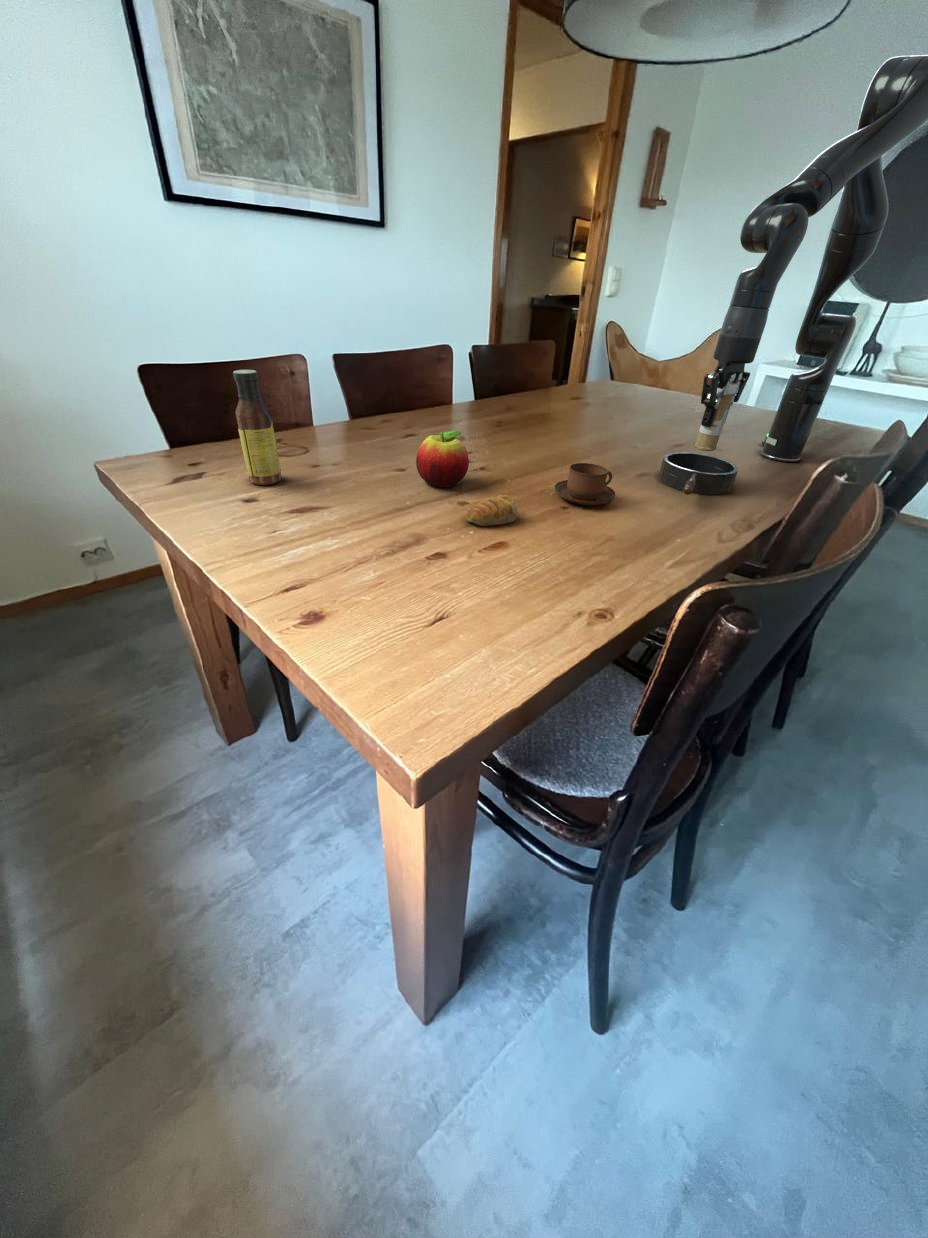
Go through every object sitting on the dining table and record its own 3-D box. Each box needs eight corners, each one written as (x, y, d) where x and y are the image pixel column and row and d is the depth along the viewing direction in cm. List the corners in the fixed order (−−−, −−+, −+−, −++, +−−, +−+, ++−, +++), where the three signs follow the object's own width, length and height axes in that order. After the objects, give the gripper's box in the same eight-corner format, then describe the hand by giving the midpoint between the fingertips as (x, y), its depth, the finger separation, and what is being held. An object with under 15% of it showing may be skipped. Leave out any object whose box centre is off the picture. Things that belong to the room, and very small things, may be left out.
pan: (653, 468, 125) (658, 449, 123) (720, 474, 124) (726, 455, 122) (665, 490, 112) (671, 470, 110) (740, 498, 111) (747, 477, 109)
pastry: (481, 532, 89) (483, 510, 87) (457, 518, 94) (458, 498, 91) (521, 520, 94) (523, 500, 92) (496, 508, 99) (497, 488, 97)
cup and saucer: (575, 484, 112) (581, 455, 109) (624, 501, 106) (632, 471, 102) (541, 496, 105) (545, 466, 102) (591, 515, 98) (597, 483, 95)
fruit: (404, 481, 108) (404, 431, 102) (441, 470, 115) (443, 423, 109) (441, 496, 102) (443, 444, 96) (478, 484, 109) (482, 435, 103)
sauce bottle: (288, 479, 105) (274, 371, 94) (266, 488, 100) (248, 375, 89) (263, 473, 107) (246, 366, 96) (240, 482, 102) (219, 370, 91)
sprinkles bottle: (691, 448, 114) (710, 381, 106) (698, 444, 117) (718, 379, 109) (712, 453, 111) (733, 385, 104) (719, 449, 114) (740, 382, 107)
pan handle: (688, 479, 111) (691, 471, 110) (697, 481, 111) (700, 473, 110) (681, 494, 103) (683, 485, 102) (690, 496, 103) (693, 487, 102)
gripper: (740, 337, 96) (710, 433, 105) (777, 335, 103) (746, 425, 113) (703, 332, 100) (677, 424, 110) (741, 331, 108) (714, 417, 117)
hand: (712, 424), depth 111 cm, fingers closed on sprinkles bottle, 4 cm apart
